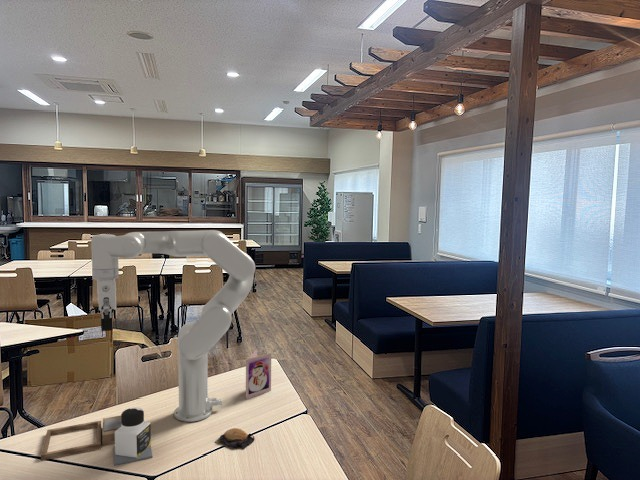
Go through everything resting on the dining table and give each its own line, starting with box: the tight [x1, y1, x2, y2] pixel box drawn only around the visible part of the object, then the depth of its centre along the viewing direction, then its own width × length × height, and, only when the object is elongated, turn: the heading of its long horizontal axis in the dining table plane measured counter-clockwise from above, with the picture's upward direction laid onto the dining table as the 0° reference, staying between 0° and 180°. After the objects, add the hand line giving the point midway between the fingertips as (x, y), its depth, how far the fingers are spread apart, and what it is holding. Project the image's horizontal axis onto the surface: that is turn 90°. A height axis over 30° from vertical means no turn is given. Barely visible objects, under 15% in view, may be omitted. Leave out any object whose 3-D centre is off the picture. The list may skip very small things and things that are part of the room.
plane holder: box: [40, 415, 121, 461], centre depth 138 cm, size 26×15×6 cm, turn 115°
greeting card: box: [245, 349, 272, 400], centre depth 171 cm, size 11×7×15 cm, turn 132°
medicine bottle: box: [114, 406, 152, 458], centre depth 131 cm, size 7×7×12 cm
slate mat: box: [113, 444, 154, 466], centre depth 131 cm, size 10×10×1 cm
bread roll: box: [214, 427, 255, 450], centre depth 138 cm, size 11×8×4 cm
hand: (107, 326), depth 144 cm, fingers open, 9 cm apart
